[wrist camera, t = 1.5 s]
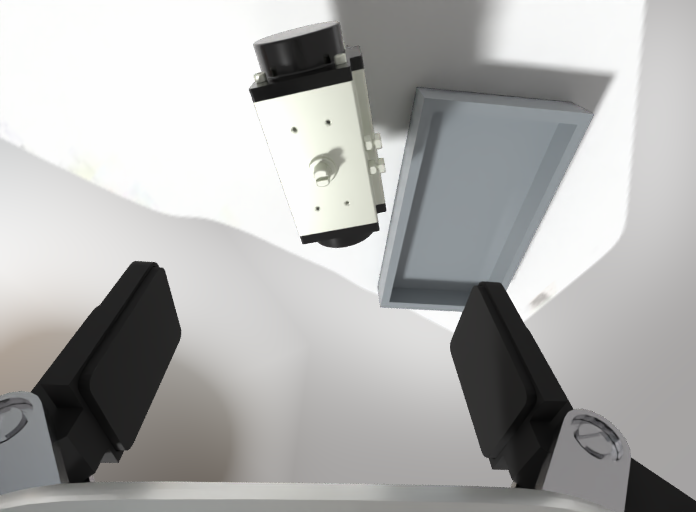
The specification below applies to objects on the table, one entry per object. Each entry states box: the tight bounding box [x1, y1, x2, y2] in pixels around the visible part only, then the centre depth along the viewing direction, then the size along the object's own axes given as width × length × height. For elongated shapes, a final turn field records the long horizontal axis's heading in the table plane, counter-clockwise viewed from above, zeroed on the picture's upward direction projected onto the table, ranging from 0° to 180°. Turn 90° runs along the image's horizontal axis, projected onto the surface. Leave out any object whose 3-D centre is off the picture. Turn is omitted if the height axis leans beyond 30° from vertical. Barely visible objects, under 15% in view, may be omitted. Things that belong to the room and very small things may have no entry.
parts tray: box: [378, 87, 594, 312], centre depth 32 cm, size 20×12×3 cm, turn 175°
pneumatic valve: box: [249, 21, 386, 248], centre depth 22 cm, size 6×12×12 cm, turn 11°
